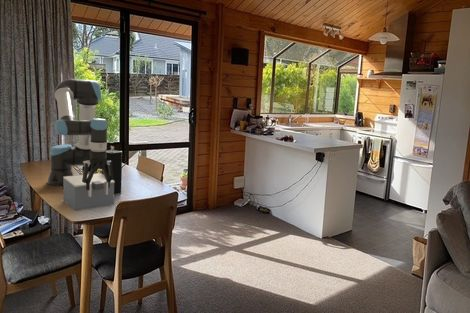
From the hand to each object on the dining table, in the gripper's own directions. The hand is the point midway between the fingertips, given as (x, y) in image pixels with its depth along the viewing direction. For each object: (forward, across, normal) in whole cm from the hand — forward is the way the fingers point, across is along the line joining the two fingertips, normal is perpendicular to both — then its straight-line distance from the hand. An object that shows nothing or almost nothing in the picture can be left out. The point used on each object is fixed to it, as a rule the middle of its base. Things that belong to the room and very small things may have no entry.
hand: (98, 195), depth 186 cm
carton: (+8, 0, +13) cm, 15 cm away
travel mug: (+8, +7, +31) cm, 33 cm away
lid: (-3, 0, +10) cm, 11 cm away
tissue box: (+8, +17, +24) cm, 30 cm away
